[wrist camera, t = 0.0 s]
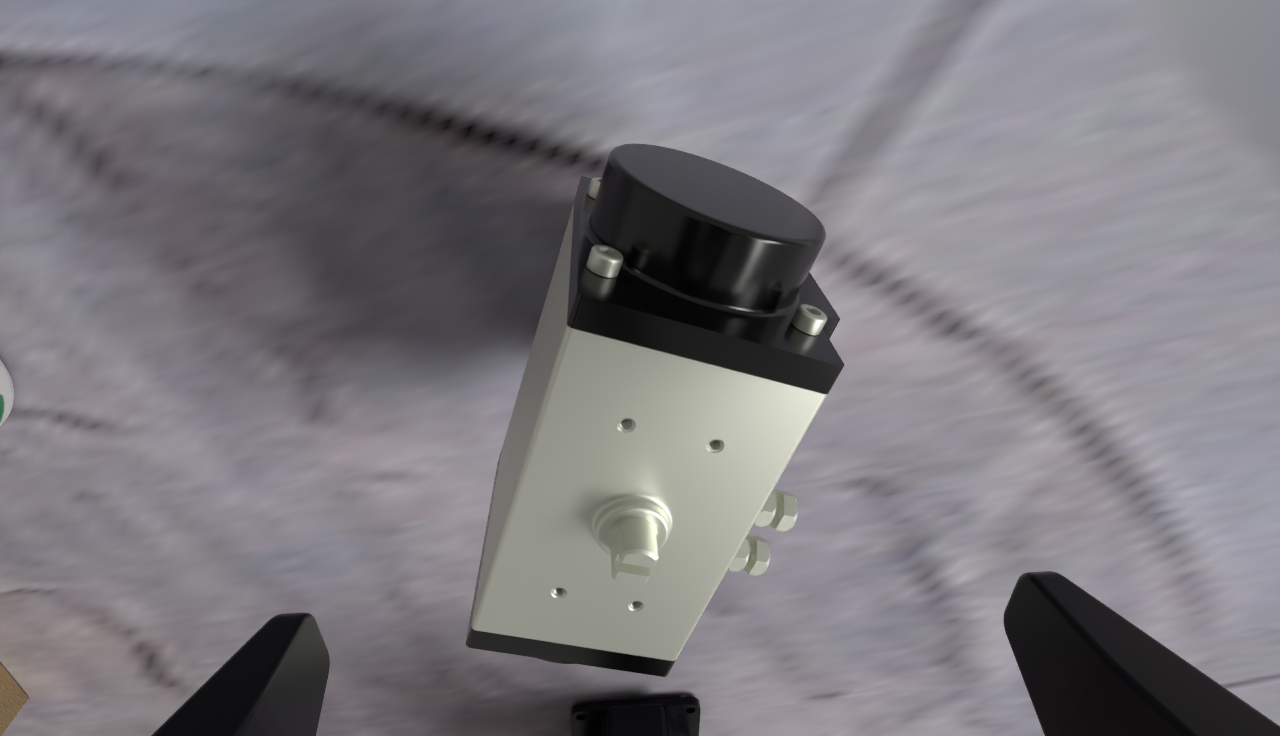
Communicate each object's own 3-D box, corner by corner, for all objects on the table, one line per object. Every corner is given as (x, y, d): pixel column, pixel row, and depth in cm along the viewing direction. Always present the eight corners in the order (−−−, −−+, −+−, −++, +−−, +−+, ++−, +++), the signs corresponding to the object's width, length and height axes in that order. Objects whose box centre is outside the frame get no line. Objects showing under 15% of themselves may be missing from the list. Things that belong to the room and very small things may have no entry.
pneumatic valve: (504, 407, 25) (443, 734, 15) (597, 76, 19) (605, 234, 9) (648, 440, 26) (686, 764, 16) (777, 139, 20) (966, 341, 10)
